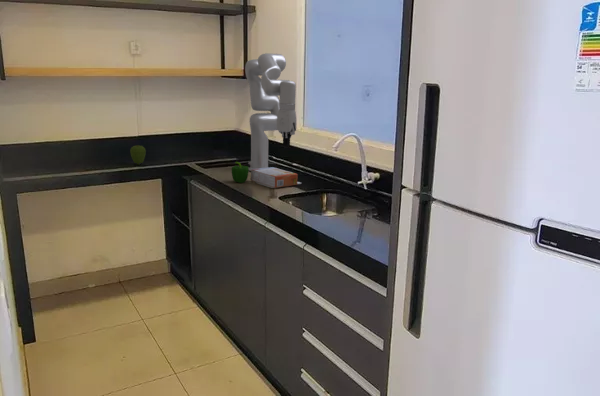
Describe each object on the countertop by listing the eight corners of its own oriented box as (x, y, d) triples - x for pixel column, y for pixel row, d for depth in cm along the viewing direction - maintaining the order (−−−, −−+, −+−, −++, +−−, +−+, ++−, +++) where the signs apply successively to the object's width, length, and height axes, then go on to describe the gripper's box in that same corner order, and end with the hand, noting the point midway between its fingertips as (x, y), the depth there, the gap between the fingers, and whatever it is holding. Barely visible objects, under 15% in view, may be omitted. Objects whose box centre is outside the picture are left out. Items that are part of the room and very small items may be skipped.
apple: (128, 164, 293) (127, 144, 290) (142, 162, 298) (141, 143, 296) (134, 166, 287) (133, 146, 284) (148, 165, 292) (148, 144, 289)
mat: (255, 182, 255) (255, 182, 255) (283, 178, 266) (283, 177, 266) (273, 188, 245) (273, 187, 245) (301, 183, 256) (301, 182, 256)
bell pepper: (252, 182, 257) (252, 162, 254) (240, 184, 250) (240, 164, 248) (240, 179, 262) (240, 160, 259) (228, 181, 256) (228, 162, 253)
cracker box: (297, 185, 251) (272, 177, 267) (298, 173, 250) (272, 166, 265) (274, 188, 242) (249, 180, 258) (275, 176, 241) (250, 168, 256)
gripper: (271, 106, 245) (270, 144, 250) (291, 109, 235) (290, 148, 239) (283, 106, 250) (282, 143, 255) (303, 108, 239) (302, 147, 244)
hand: (286, 145), depth 247 cm, fingers closed
